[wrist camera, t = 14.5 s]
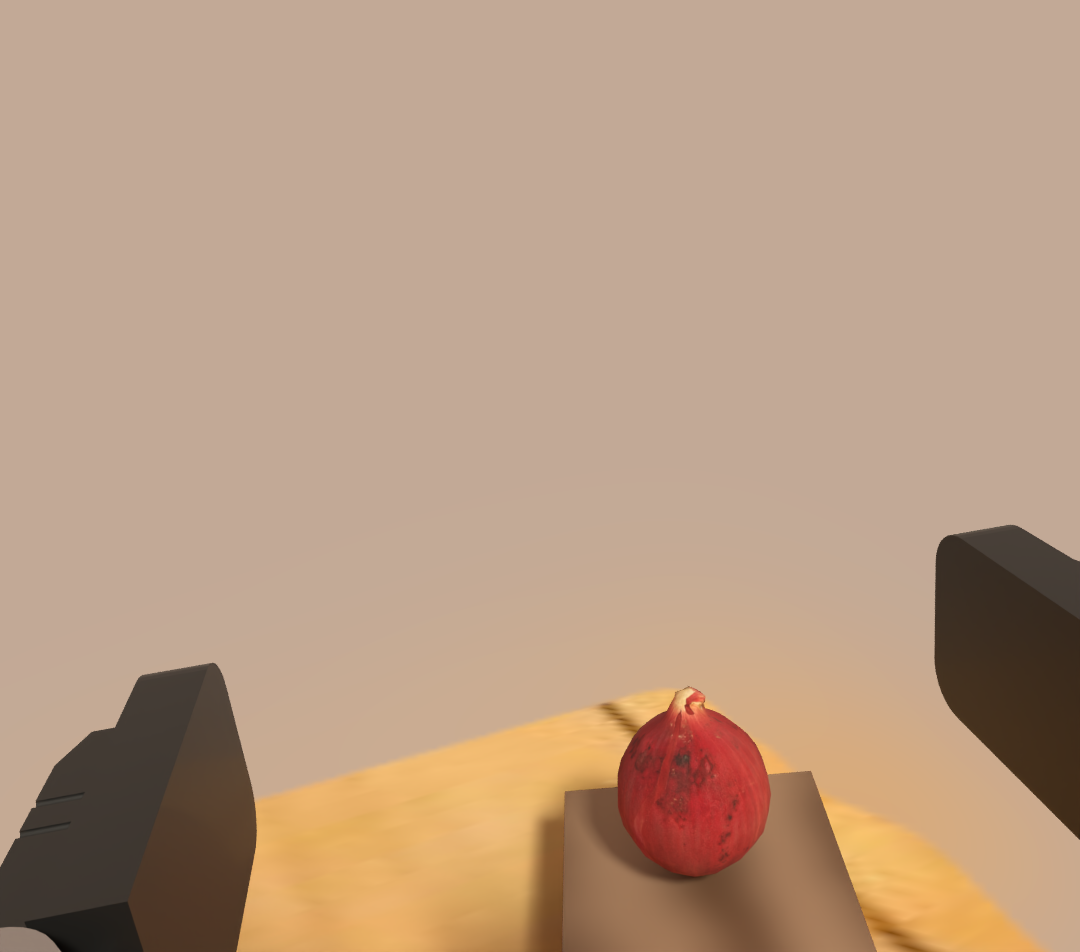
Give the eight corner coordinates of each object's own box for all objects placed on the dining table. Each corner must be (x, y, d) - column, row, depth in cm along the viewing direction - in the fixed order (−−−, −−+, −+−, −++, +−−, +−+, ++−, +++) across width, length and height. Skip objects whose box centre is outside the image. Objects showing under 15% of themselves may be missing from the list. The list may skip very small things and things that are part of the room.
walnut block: (577, 1096, 36) (561, 990, 35) (577, 880, 47) (564, 791, 45) (884, 1077, 35) (882, 968, 34) (814, 862, 46) (810, 770, 44)
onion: (760, 938, 36) (747, 748, 33) (607, 910, 38) (585, 729, 35) (785, 832, 41) (776, 660, 38) (648, 813, 43) (631, 648, 40)
